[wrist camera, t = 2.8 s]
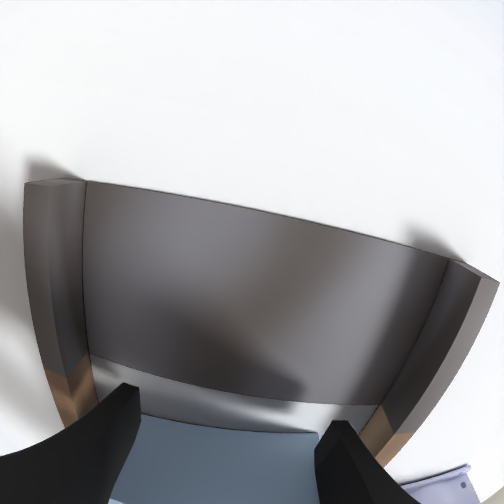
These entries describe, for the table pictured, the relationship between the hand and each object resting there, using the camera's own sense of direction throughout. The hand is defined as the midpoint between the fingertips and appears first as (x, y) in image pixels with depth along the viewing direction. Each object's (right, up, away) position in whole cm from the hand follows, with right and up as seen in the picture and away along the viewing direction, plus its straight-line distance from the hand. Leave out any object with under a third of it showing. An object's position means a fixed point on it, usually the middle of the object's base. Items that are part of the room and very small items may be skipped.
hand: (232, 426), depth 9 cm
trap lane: (-2, -10, +5) cm, 11 cm away
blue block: (-1, -5, +3) cm, 6 cm away
